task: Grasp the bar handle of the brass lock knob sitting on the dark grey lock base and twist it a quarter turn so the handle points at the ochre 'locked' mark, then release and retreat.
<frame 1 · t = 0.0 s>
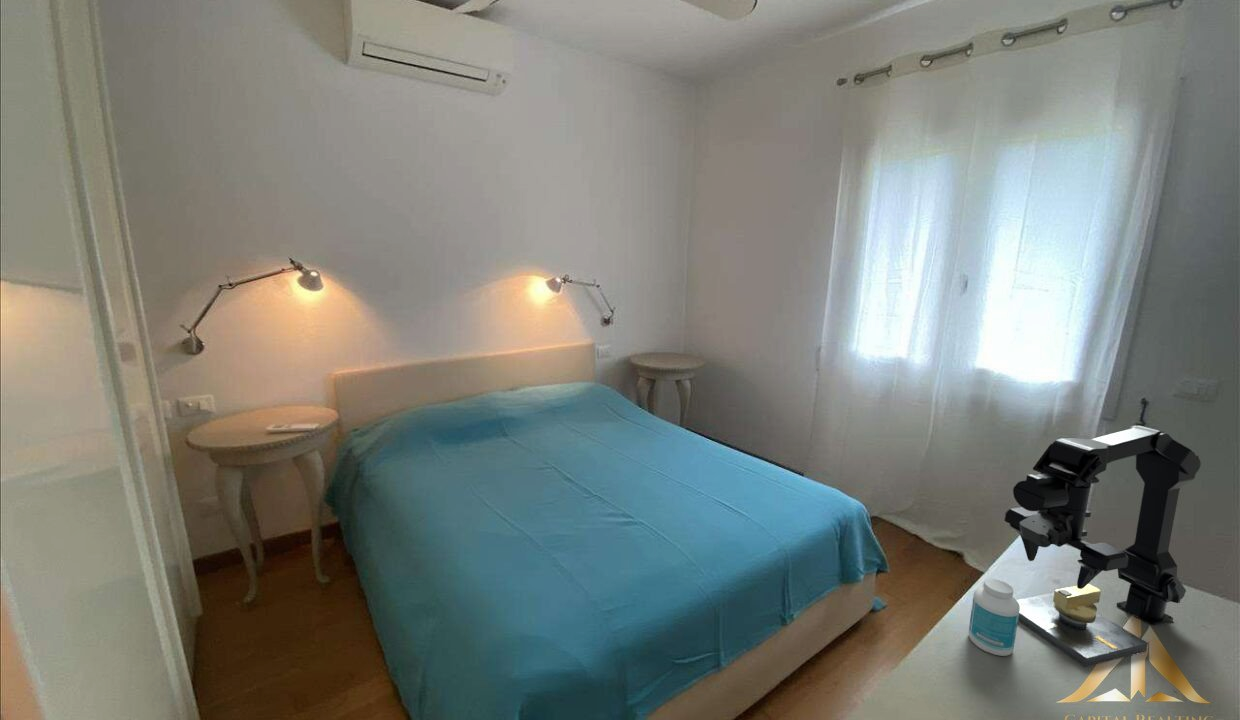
hand: (1054, 573, 97), 15 cm above the table, fingers open, 9 cm apart
lock base: (1070, 629, 102), on the table
pill bottle: (989, 644, 98), on the table
brass lock knob: (1075, 600, 100), point 7 cm above the table, hinge at 0.0°
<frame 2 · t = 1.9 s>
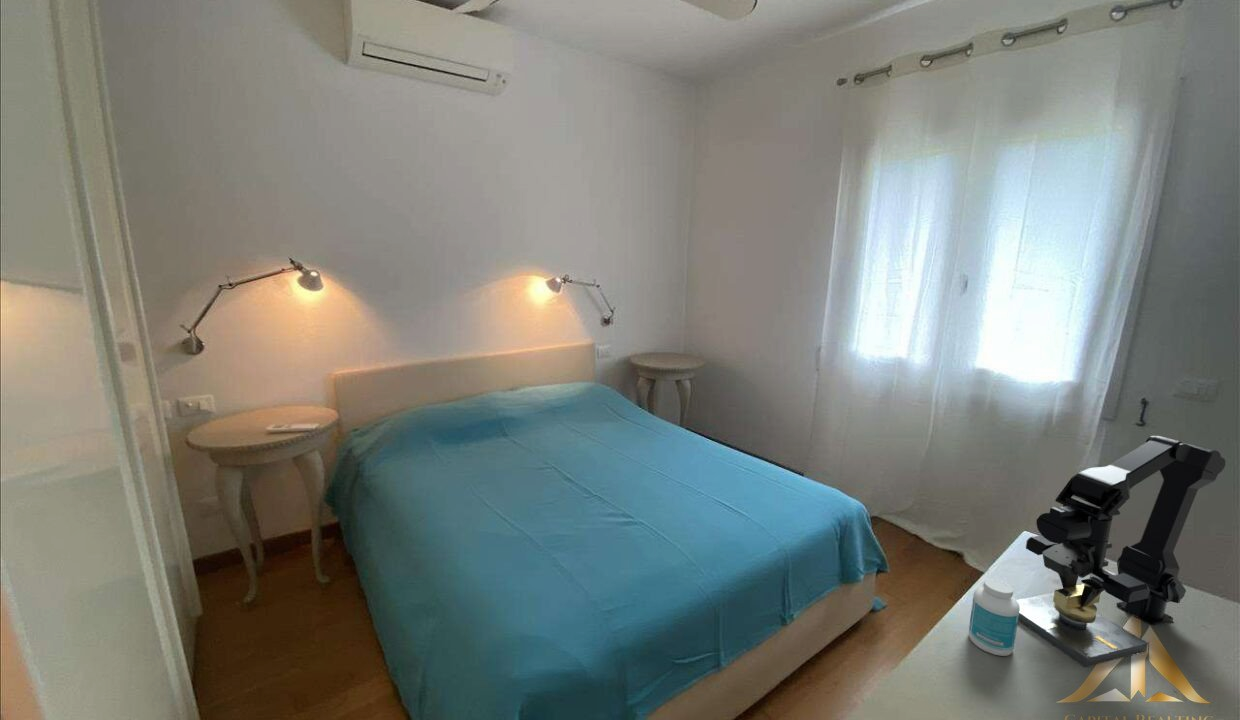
hand: (1075, 601, 100), 7 cm above the table, fingers closed on brass lock knob, 2 cm apart
brass lock knob: (1075, 600, 100), point 7 cm above the table, hinge at 0.0°, touching gripper
everything else where it was.
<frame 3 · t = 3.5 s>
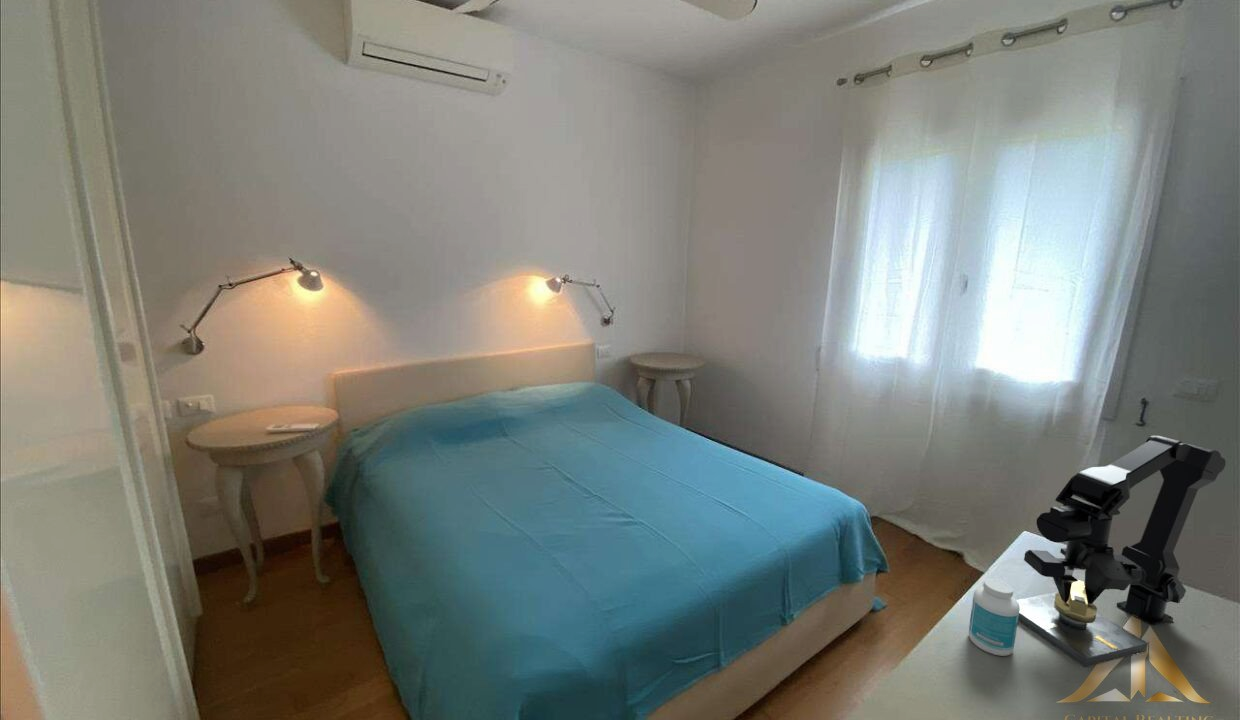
hand: (1076, 601, 100), 7 cm above the table, fingers closed on brass lock knob, 4 cm apart
brass lock knob: (1075, 600, 100), point 7 cm above the table, hinge at 37.6°, touching gripper
everything else where it was.
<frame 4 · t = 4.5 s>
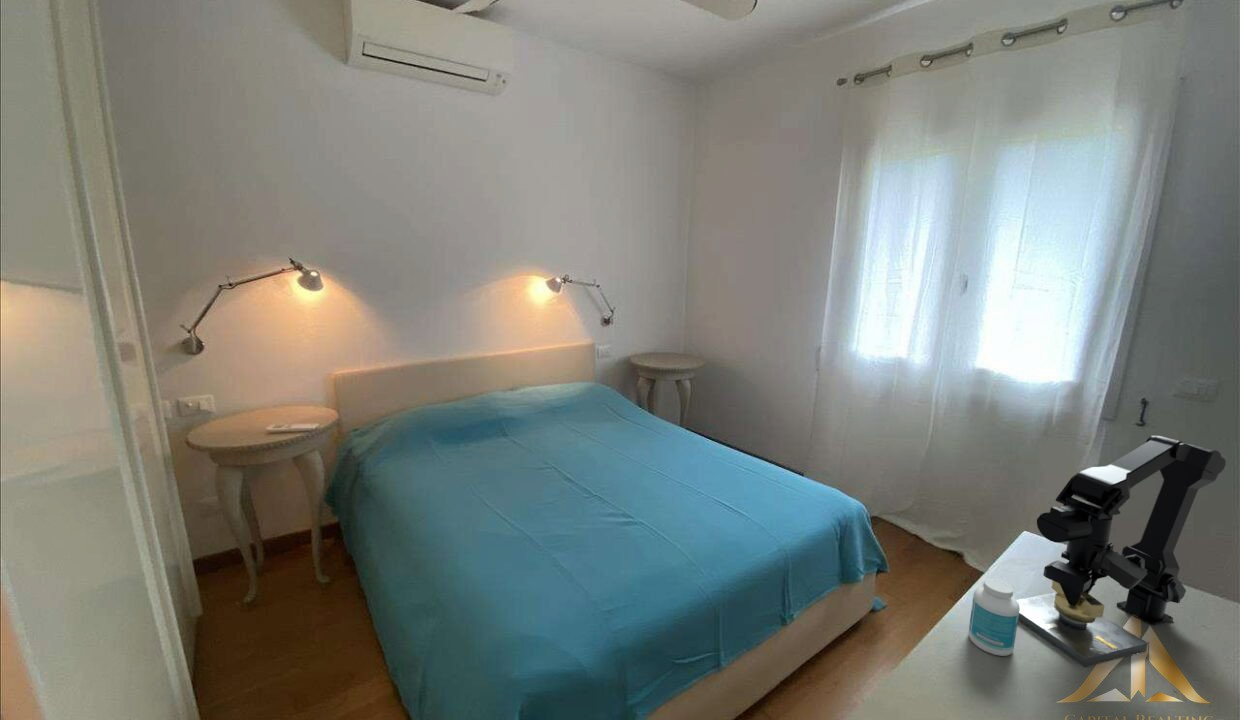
hand: (1076, 601, 100), 7 cm above the table, fingers closed on brass lock knob, 4 cm apart
brass lock knob: (1075, 600, 100), point 7 cm above the table, hinge at 75.6°, touching gripper
everything else where it was.
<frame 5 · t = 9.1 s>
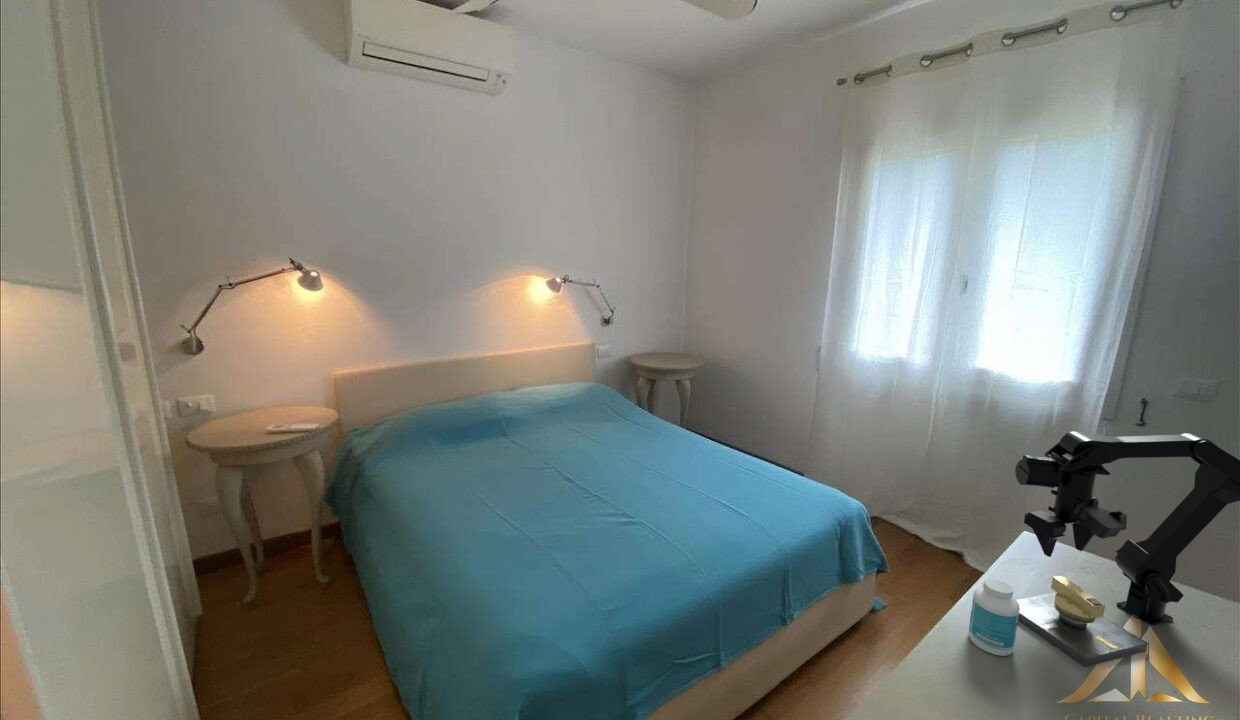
hand: (1063, 552, 108), 12 cm above the table, fingers open, 9 cm apart
brass lock knob: (1075, 600, 100), point 7 cm above the table, hinge at 77.7°
everything else where it was.
at the end: brass lock knob at +78° (first picture: +0°); the gripper is holding nothing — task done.
